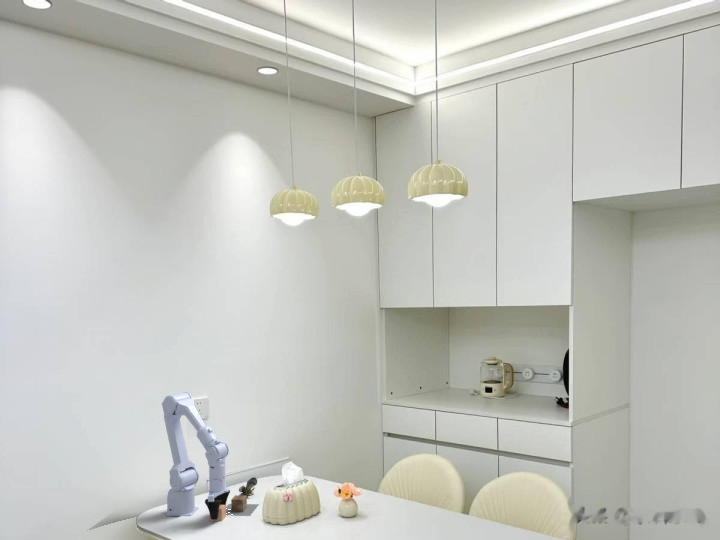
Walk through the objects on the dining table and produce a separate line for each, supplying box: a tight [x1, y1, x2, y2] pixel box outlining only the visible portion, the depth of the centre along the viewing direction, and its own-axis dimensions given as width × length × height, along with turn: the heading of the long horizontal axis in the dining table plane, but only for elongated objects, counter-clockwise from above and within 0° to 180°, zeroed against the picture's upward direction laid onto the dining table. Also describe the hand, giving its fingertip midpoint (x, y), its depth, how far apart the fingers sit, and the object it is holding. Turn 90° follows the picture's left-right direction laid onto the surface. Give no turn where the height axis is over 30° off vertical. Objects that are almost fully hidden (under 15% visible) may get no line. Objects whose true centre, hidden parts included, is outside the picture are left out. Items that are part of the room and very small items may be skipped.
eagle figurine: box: [238, 476, 258, 498], centre depth 244 cm, size 8×7×9 cm
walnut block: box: [230, 494, 248, 512], centre depth 227 cm, size 4×4×4 cm
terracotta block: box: [209, 504, 227, 522], centre depth 219 cm, size 4×4×4 cm
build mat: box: [226, 503, 260, 517], centre depth 227 cm, size 12×12×1 cm
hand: (218, 515), depth 219 cm, fingers open, 7 cm apart
